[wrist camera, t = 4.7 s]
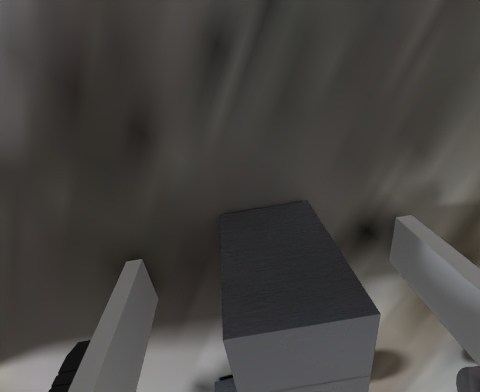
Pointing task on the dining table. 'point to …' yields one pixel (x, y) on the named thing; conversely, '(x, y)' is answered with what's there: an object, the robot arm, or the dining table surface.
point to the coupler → (292, 305)
